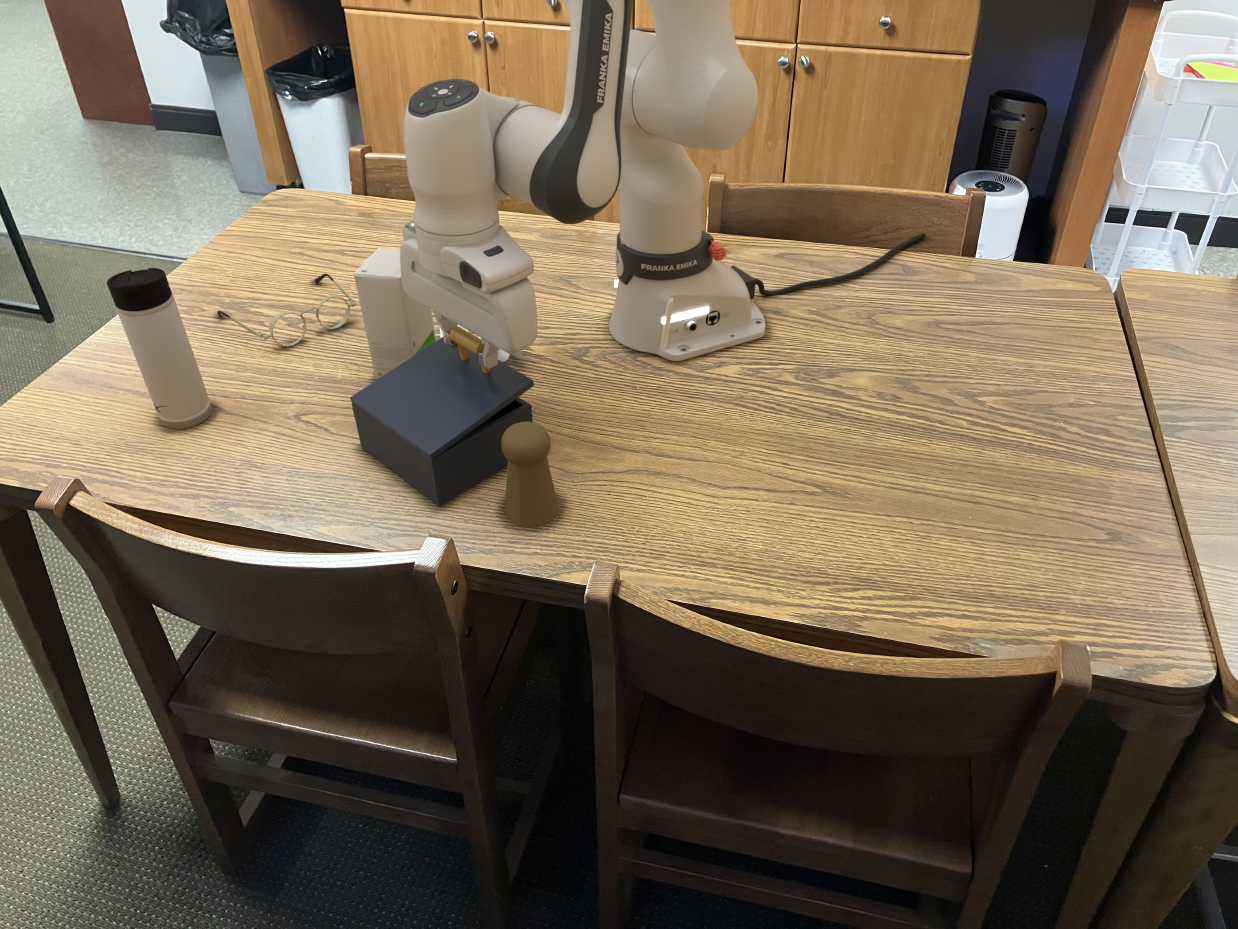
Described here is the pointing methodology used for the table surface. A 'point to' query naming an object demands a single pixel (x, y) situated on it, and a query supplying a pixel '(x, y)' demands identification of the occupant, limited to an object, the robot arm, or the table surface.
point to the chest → (443, 453)
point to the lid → (441, 393)
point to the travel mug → (161, 346)
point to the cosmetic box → (391, 313)
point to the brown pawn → (528, 475)
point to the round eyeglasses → (273, 321)
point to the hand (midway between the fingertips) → (471, 354)
